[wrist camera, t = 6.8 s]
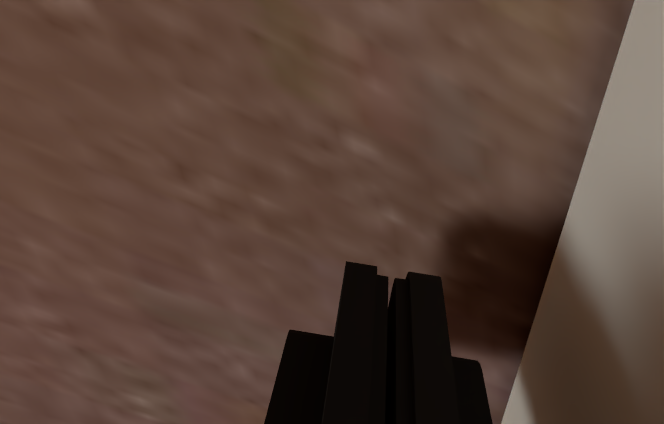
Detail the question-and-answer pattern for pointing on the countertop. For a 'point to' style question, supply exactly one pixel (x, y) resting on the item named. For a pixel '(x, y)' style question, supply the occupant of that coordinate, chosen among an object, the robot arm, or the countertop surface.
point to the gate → (608, 261)
